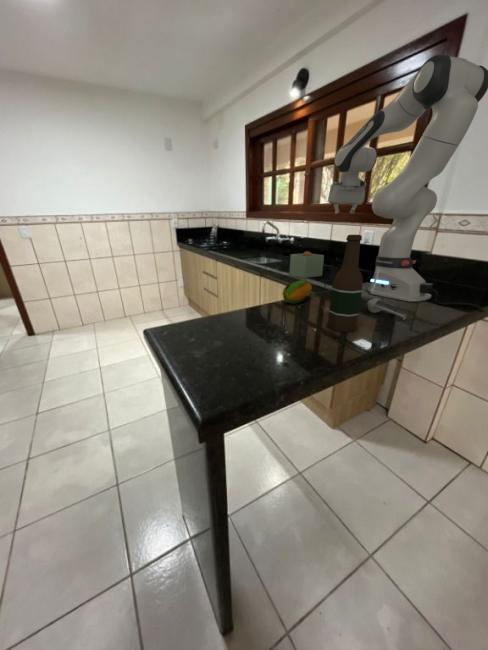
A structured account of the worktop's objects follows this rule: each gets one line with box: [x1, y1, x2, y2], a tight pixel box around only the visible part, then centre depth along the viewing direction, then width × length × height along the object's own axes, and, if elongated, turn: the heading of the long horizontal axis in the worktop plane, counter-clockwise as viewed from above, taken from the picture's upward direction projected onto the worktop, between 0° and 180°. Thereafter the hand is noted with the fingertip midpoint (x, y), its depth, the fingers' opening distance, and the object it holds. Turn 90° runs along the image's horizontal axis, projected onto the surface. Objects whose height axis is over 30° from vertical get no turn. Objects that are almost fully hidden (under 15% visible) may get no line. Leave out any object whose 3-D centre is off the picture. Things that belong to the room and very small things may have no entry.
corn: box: [281, 279, 313, 305], centre depth 96 cm, size 7×8×20 cm
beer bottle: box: [327, 234, 364, 333], centre depth 67 cm, size 8×8×24 cm
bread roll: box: [302, 250, 313, 257], centre depth 141 cm, size 5×5×12 cm
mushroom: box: [366, 297, 408, 321], centre depth 81 cm, size 7×5×12 cm
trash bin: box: [289, 253, 325, 279], centre depth 142 cm, size 12×12×11 cm
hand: (344, 213), depth 133 cm, fingers open, 8 cm apart
